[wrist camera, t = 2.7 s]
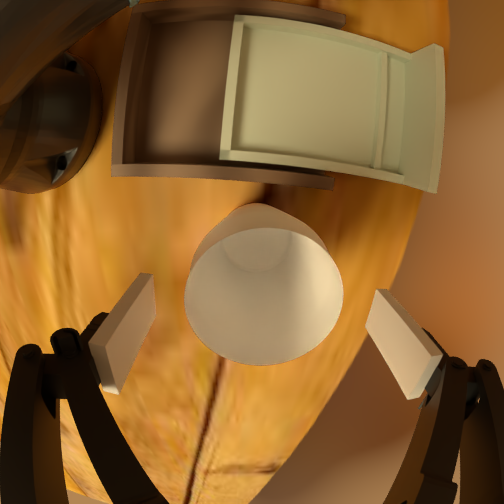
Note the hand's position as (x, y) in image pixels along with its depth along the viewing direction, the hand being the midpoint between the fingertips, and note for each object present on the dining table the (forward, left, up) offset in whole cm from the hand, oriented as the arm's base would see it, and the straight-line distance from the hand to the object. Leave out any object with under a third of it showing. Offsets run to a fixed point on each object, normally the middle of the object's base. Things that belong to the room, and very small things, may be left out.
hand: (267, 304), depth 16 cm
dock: (-4, +14, -11) cm, 18 cm away
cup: (0, 0, -12) cm, 12 cm away
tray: (+5, +14, -11) cm, 18 cm away
